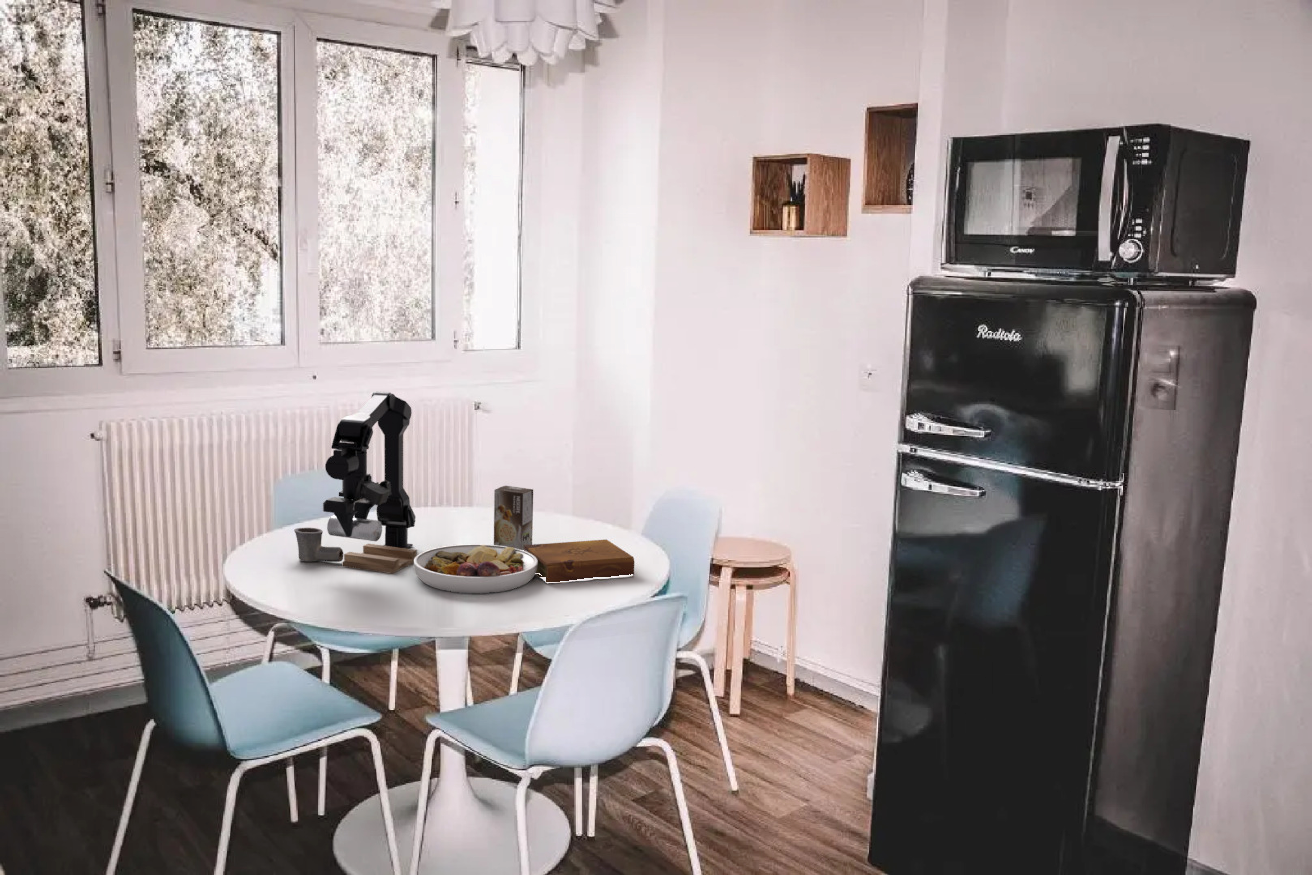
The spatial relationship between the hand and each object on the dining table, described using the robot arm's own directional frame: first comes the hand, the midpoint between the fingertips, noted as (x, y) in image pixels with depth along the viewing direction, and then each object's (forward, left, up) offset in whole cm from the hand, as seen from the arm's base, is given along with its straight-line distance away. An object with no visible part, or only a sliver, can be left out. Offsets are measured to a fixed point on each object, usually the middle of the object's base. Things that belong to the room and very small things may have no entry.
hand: (354, 533), depth 286 cm
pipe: (-7, -15, -11) cm, 20 cm away
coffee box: (-42, +23, -11) cm, 49 cm away
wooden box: (-29, +47, -11) cm, 56 cm away
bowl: (-11, +27, -11) cm, 31 cm away
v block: (-12, 0, -11) cm, 16 cm away
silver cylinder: (0, 0, +1) cm, 1 cm away
